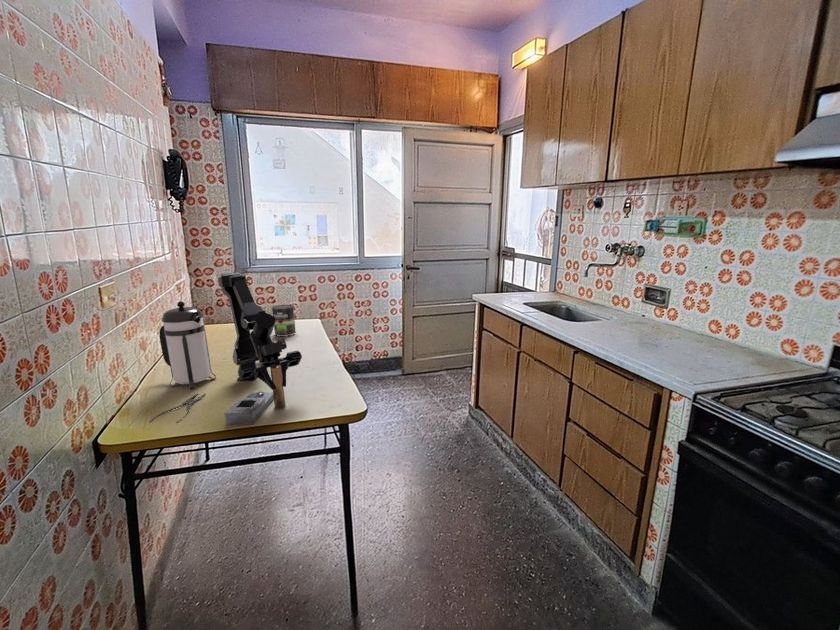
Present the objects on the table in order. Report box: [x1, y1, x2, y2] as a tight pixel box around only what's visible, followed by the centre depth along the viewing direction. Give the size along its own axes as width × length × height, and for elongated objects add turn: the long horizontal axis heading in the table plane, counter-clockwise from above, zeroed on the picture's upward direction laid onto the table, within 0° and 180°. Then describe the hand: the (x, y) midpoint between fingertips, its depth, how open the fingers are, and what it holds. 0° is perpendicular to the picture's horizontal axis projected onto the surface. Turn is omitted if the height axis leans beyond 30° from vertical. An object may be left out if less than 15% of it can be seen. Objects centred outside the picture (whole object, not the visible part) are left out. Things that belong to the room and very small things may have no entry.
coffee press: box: [158, 300, 217, 390], centre depth 149 cm, size 17×16×30 cm
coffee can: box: [271, 304, 297, 337], centre depth 210 cm, size 10×10×14 cm
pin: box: [269, 365, 286, 410], centre depth 130 cm, size 3×3×13 cm
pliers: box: [148, 393, 207, 423], centre depth 132 cm, size 10×1×20 cm
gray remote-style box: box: [224, 391, 274, 426], centre depth 129 cm, size 18×8×4 cm, turn 179°
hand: (279, 387), depth 129 cm, fingers closed on pin, 3 cm apart
